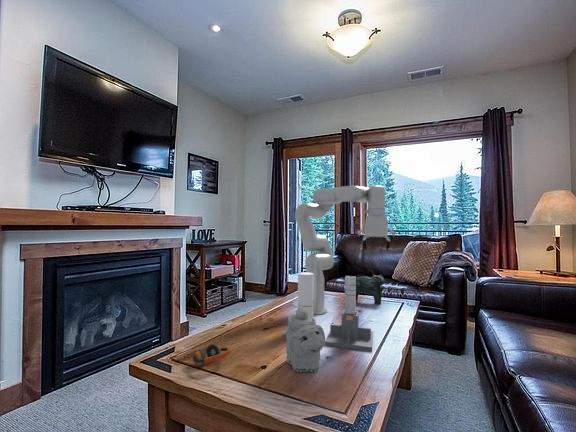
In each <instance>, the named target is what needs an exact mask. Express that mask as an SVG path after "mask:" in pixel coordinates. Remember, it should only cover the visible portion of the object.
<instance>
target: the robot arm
mask: <svg viewBox="0 0 576 432" xmlns="http://www.w3.org/2000/svg"><path fill="white" fill-rule="evenodd" d="M312 199H313V202H315V203H313V202H303V203H301V204H298V205H297V207H296V210H295V213H294V216H295V217H294V218H295V222H296V224H297V227H298V230H299V233H300V238H301V241H302V245H303V248H304V250H305V251H306V252H311V253H310V254H309V255H307V257H306V258H305V262H304V263H305V265H304V266H305V269H306V272H309V273H313V274H314V285H313V315H324V314H326V313H327V312H328V309H327V308H326V307H325V275H324V272H323V271H326V270H329V269H332V268H333V266H334V262H335V259H334V255H333V251H332V248H331V244H330V242H329V240H328V237H326V235H323V234H317V232H316V229H315V226H314V224H313V223H312V221H311V220H310V219H321V218H323V217H324V216H325V215H326V214H327V213H328V212H329V210H330V209H331V208H332V207H334V205H339V204H341V203H342V202H343V203H344V202H345V203H346V202H347V203H348V202H349V203H351V202H352V203H364V204H367V209H365V210H364V214H367V215H365V220H364V221H365V223H364V227H363V228H361V229H359V230H357V232H356V233H357V235H358V237H359V238H360V239H361V240H362V241H363V242H362V248H364V250H367V245H368V244H367V243H368V242H367V238H369V237H370V238H385V240H386V241H385V244H386V245H385V247H386V248H385V250H386V251H389V249H390V247H391V246H390V243H391V241H392V240H393V239H394V237H395V236H396V234H397V232H396V231H394V230H393V229H391V228H389V225H388V217H387V215H386V210H385V209H386V208H385V207H386V188H385V187H384V186H383V185H371V186H369V187H366V186H359V185H345V186H339V187H323V188H318V189H316V190H314V191H313V193H312ZM363 232H364V236H363V235H362V233H363ZM389 233H391V235H390V236H389V235H388V234H389ZM312 252H316V253H312Z"/></svg>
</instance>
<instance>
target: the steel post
mask: <svg viewBox="0 0 576 432" xmlns="http://www.w3.org/2000/svg"><path fill="white" fill-rule="evenodd" d="M356 278H357V276H356V277H355V276H354V275H353V276H352V275H345V277H344V311H345V314H346V315H356V312H357V310H356V309H357V307H356V306H357V305H356V303H357V301H356Z"/></svg>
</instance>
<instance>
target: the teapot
mask: <svg viewBox="0 0 576 432" xmlns="http://www.w3.org/2000/svg"><path fill="white" fill-rule="evenodd" d="M287 324H288V327H287V329H286V333H285V334H286V335H285V338H286V340H285V341H286V347H285V348H286V349H285V351H286V352H285V353H286V362H287V364H289V365H291V366H292V369H293V371H295V372H298V373H316V372H318V371H319V369H320V360H321V351H322V350H323V348H324V346H325V340H326V336H325V332H324V328H323V327H322V326H321V325H318V324H316V318H314V316H313V317H311V316H308V311H307V310H306V309H303V308H302V309H301V307H298V306H297V310H296V311H295V313H294V314H289V316H288V317H287Z"/></svg>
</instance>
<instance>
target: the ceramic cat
mask: <svg viewBox="0 0 576 432" xmlns="http://www.w3.org/2000/svg"><path fill="white" fill-rule="evenodd" d="M369 271H371V272H372V276H367V275H364V274H363V276H360V274H357V275H355V276H354V277H356V302H357V301H358V300H359V299H358V298H359V294H360V293H362V292H366V293H369V294H371V295H372V298H373V301H374V305H382V296H383V295H382V287H383V285H384V284H385V278H384V276H383V274H382V273H380V274H379V275H375V274H374V272H373V270H372V269H368V270H367V272H369Z"/></svg>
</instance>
